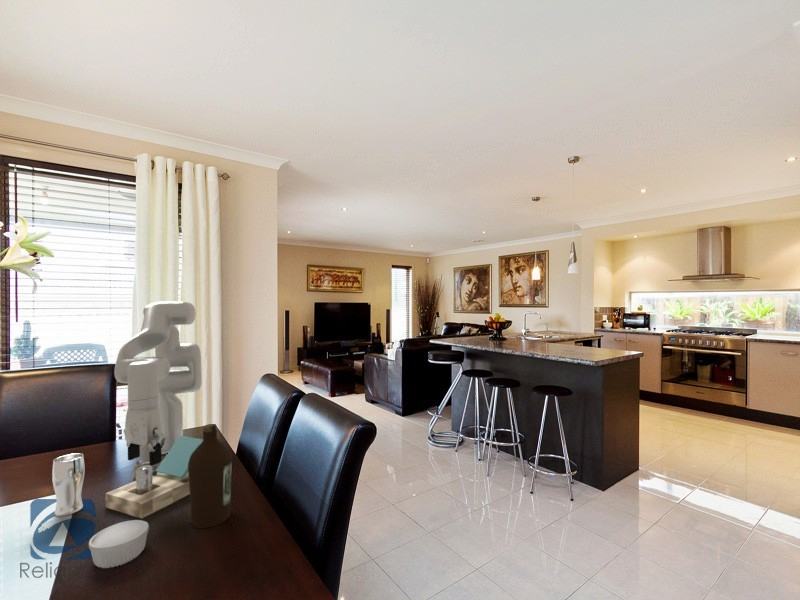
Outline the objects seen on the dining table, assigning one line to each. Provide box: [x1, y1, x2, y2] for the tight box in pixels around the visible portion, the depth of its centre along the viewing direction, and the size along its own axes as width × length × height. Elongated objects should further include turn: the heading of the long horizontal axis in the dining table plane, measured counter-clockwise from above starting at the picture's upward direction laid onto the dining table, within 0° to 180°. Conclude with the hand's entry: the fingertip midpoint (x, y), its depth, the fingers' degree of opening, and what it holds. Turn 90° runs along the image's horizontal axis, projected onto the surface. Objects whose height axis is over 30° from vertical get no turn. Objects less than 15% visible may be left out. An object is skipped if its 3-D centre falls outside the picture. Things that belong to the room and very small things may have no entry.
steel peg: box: [135, 465, 153, 495], centre depth 113 cm, size 4×4×10 cm
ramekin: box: [88, 519, 150, 569], centre depth 89 cm, size 11×11×5 cm
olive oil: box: [188, 423, 233, 529], centre depth 104 cm, size 11×11×25 cm
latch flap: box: [155, 435, 203, 478], centre depth 124 cm, size 12×12×1 cm
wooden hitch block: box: [105, 470, 190, 519], centre depth 118 cm, size 16×22×5 cm
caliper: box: [131, 459, 163, 481], centre depth 137 cm, size 20×1×6 cm, turn 148°
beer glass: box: [51, 452, 85, 517], centre depth 110 cm, size 7×7×15 cm
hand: (144, 461), depth 114 cm, fingers open, 9 cm apart
